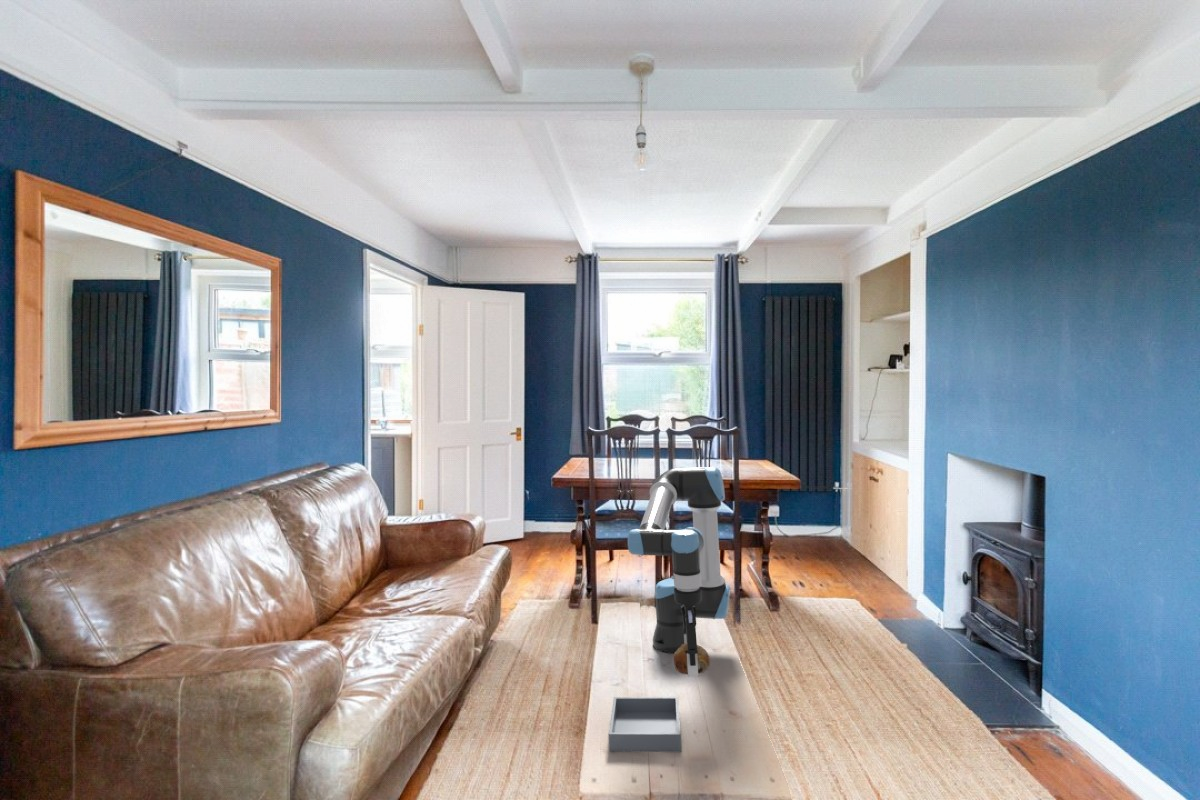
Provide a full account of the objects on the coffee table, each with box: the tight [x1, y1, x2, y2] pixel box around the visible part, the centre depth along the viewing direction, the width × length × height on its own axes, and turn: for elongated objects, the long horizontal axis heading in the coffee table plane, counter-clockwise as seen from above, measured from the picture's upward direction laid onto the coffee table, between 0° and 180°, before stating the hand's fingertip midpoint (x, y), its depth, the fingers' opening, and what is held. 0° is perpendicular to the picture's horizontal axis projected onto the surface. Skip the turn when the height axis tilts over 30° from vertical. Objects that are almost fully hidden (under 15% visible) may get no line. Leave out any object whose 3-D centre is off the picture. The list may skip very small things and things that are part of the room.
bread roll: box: [673, 644, 710, 675], centre depth 166 cm, size 10×10×8 cm
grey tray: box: [608, 696, 682, 753], centre depth 164 cm, size 19×19×4 cm
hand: (691, 666), depth 166 cm, fingers closed on bread roll, 10 cm apart
